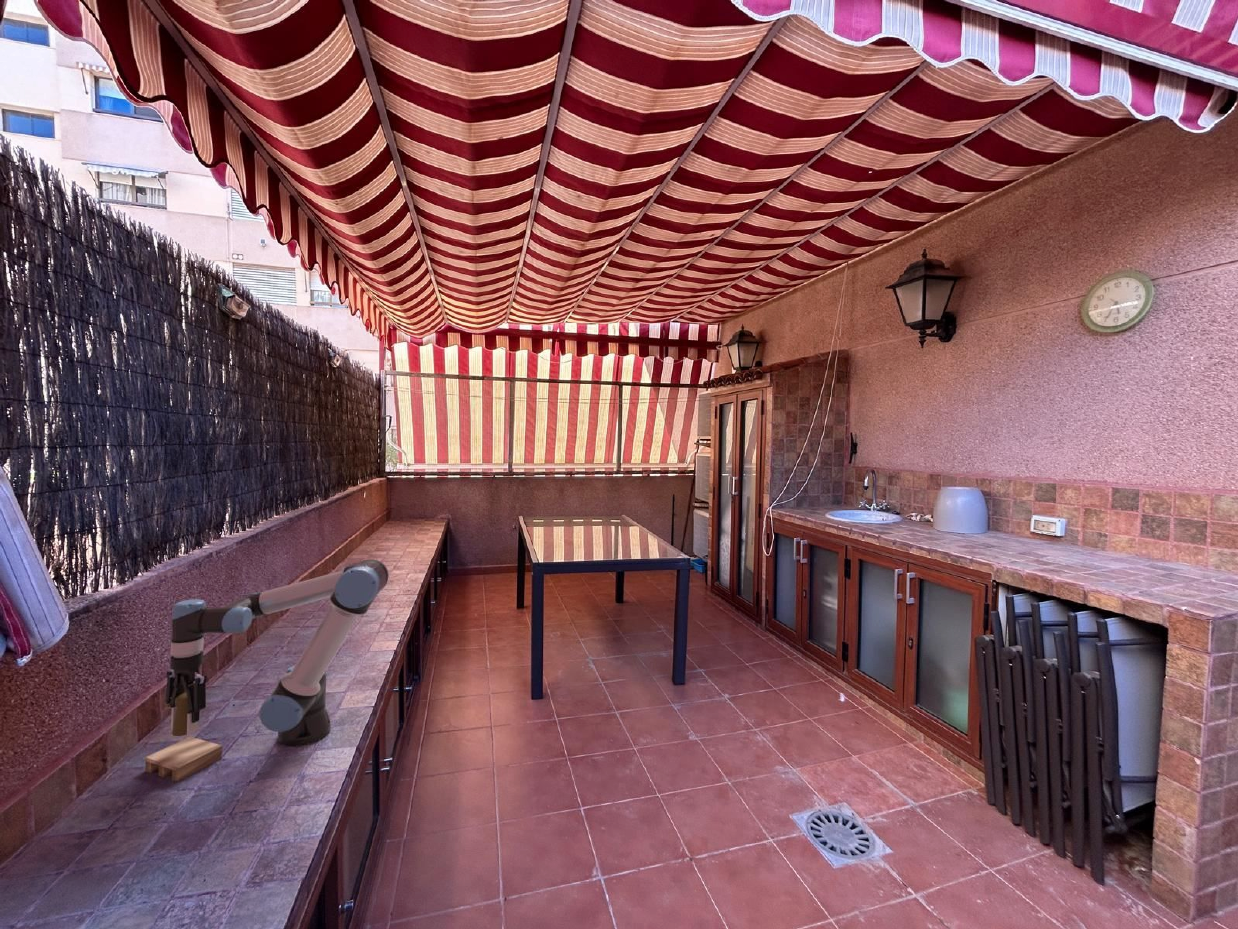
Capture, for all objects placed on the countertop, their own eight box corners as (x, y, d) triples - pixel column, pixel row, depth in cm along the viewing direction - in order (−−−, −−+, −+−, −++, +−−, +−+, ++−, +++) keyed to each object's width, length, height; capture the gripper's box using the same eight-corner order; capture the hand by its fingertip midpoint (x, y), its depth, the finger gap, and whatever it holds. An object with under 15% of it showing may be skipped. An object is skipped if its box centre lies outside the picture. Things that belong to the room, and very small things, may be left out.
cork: (195, 723, 157) (196, 687, 157) (200, 730, 154) (201, 694, 153) (169, 730, 153) (170, 694, 153) (174, 738, 149) (175, 701, 149)
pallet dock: (222, 758, 157) (222, 745, 157) (178, 782, 145) (178, 768, 145) (190, 749, 161) (190, 736, 161) (144, 771, 149) (145, 757, 149)
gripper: (223, 653, 153) (220, 730, 154) (179, 644, 159) (176, 718, 159) (196, 662, 146) (193, 743, 147) (150, 652, 152) (148, 730, 152)
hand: (184, 730), depth 153 cm, fingers closed on cork, 6 cm apart
